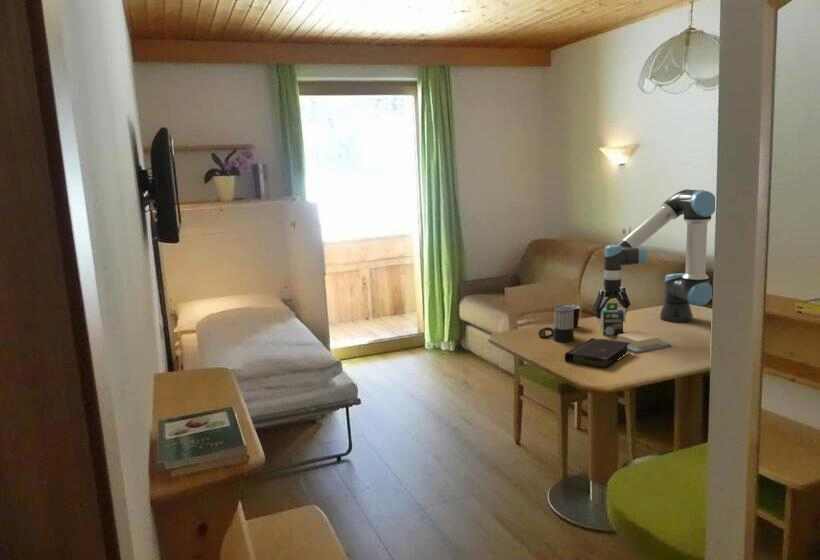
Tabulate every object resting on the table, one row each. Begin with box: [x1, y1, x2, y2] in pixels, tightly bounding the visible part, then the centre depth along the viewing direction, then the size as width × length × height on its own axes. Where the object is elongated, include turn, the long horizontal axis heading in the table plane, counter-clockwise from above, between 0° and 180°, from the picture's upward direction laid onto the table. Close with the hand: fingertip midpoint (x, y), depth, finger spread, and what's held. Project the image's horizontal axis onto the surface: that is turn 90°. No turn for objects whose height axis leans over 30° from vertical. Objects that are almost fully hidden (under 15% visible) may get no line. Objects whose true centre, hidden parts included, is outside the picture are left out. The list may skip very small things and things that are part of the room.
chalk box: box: [600, 302, 624, 336], centre depth 285 cm, size 9×9×15 cm
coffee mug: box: [561, 304, 581, 329], centre depth 300 cm, size 12×9×10 cm
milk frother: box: [537, 306, 575, 344], centre depth 280 cm, size 14×16×15 cm
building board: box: [612, 330, 672, 354], centre depth 267 cm, size 20×18×4 cm
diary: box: [564, 337, 630, 370], centre depth 252 cm, size 19×25×5 cm
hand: (611, 323), depth 285 cm, fingers open, 13 cm apart
